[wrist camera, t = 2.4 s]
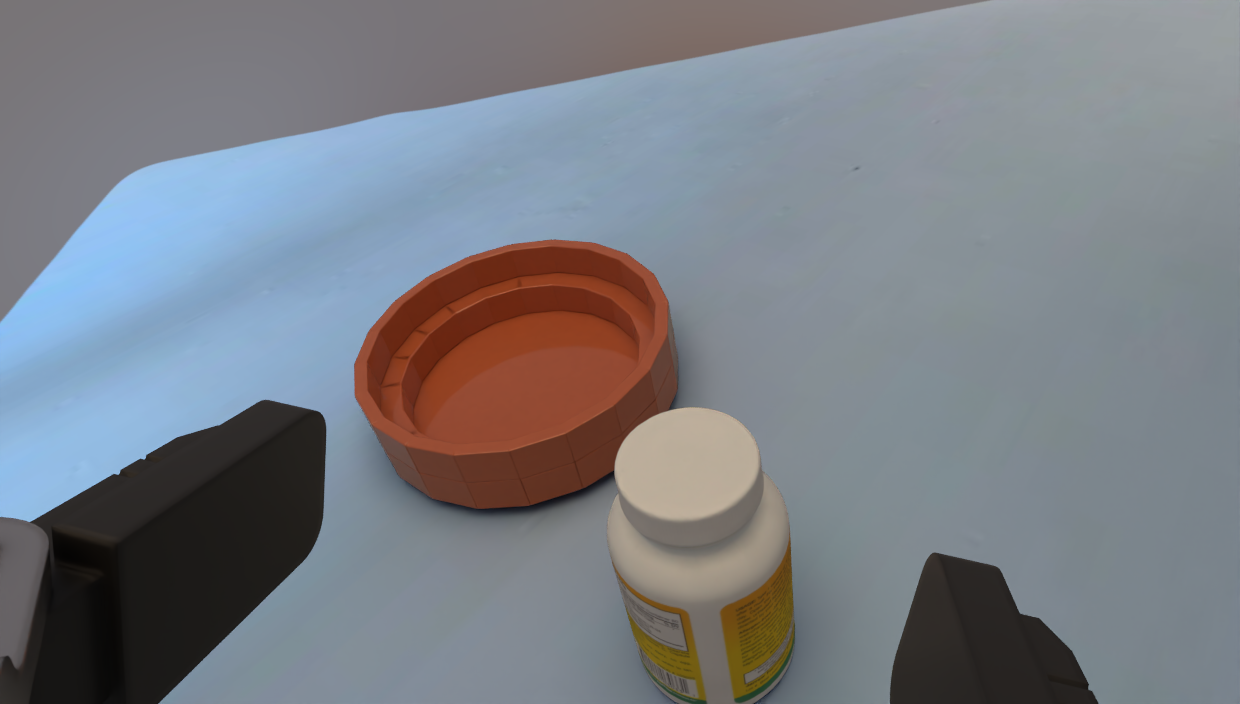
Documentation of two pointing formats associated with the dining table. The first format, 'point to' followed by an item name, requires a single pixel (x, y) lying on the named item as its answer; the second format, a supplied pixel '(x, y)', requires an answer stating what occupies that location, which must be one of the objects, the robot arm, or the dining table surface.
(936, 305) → the dining table surface
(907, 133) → the dining table surface
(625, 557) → the supplement bottle
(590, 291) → the bowl
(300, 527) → the robot arm
